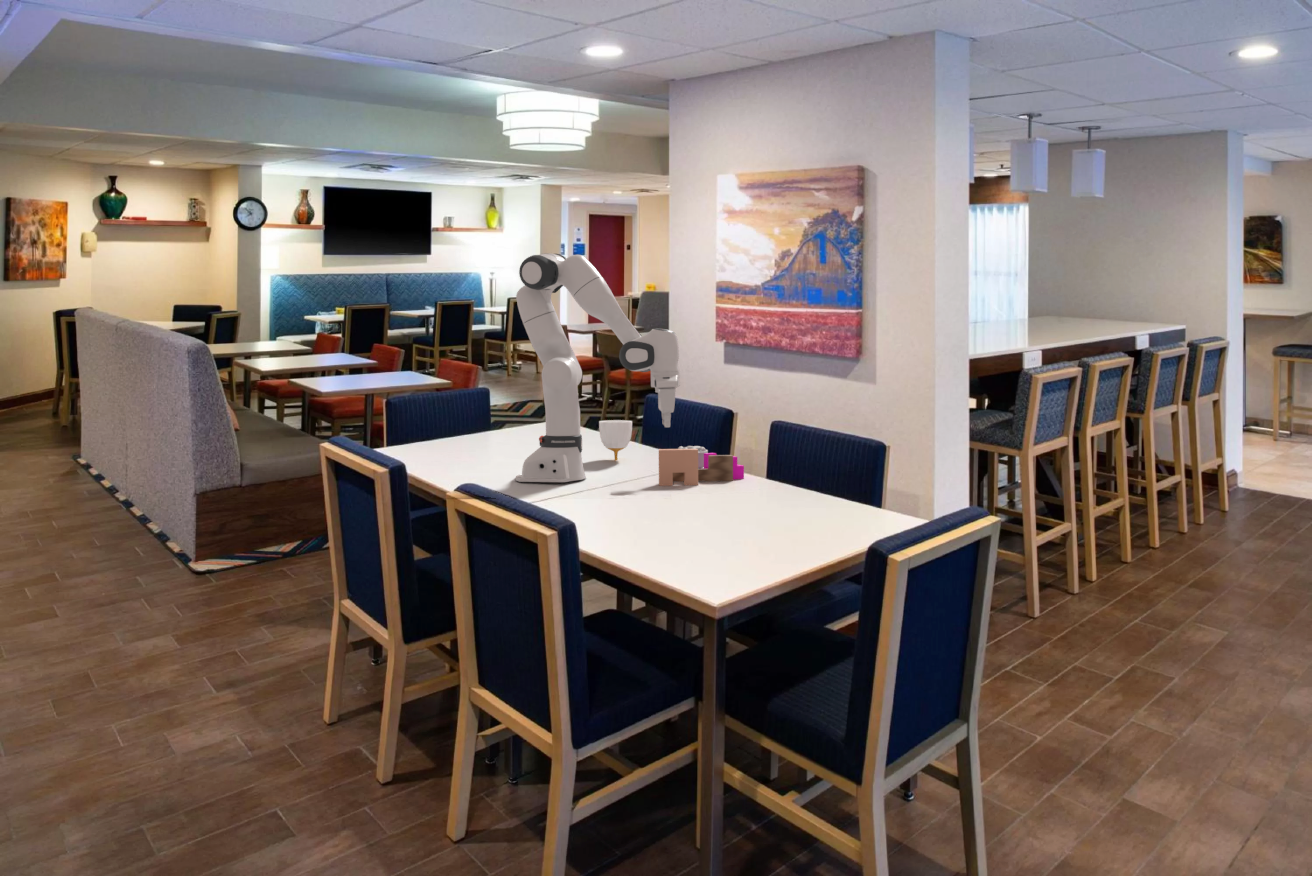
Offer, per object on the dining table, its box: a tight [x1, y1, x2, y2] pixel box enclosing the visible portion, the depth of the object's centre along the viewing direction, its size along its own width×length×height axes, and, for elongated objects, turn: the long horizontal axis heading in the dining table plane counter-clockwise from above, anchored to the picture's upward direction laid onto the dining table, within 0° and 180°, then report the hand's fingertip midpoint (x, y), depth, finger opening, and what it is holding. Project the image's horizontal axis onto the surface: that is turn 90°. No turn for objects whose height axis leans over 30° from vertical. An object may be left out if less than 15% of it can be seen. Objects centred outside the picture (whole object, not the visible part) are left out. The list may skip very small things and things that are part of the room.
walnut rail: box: [673, 454, 734, 483], centre depth 310 cm, size 20×2×8 cm, turn 93°
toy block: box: [703, 452, 745, 481], centre depth 320 cm, size 15×6×8 cm, turn 28°
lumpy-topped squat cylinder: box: [677, 445, 709, 469], centre depth 335 cm, size 10×13×9 cm
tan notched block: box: [658, 448, 699, 487], centre depth 301 cm, size 4×12×11 cm, turn 93°
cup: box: [598, 419, 633, 461], centre depth 341 cm, size 12×12×17 cm
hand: (666, 426), depth 299 cm, fingers open, 8 cm apart
